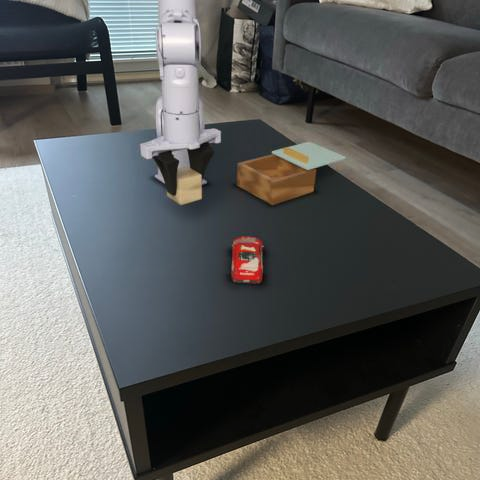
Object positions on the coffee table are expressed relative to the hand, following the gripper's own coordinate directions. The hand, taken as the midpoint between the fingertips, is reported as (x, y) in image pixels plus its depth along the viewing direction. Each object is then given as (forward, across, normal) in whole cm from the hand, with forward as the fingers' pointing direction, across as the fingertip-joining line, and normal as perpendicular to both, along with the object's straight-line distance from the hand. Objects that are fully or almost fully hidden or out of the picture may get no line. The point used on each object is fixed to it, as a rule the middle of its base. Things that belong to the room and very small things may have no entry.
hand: (183, 190), depth 88 cm
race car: (+8, +2, -16) cm, 18 cm away
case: (+8, +27, +6) cm, 29 cm away
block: (+1, 0, 0) cm, 1 cm away
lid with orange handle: (+3, +36, +6) cm, 37 cm away
